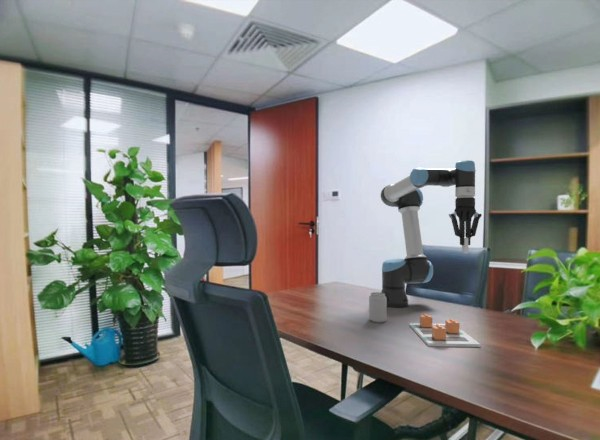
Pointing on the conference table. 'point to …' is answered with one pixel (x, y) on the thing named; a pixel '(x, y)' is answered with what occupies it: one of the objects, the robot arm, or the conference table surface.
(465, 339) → the panel
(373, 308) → the can
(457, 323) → the tab
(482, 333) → the conference table surface
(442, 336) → the tab
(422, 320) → the orange small block
